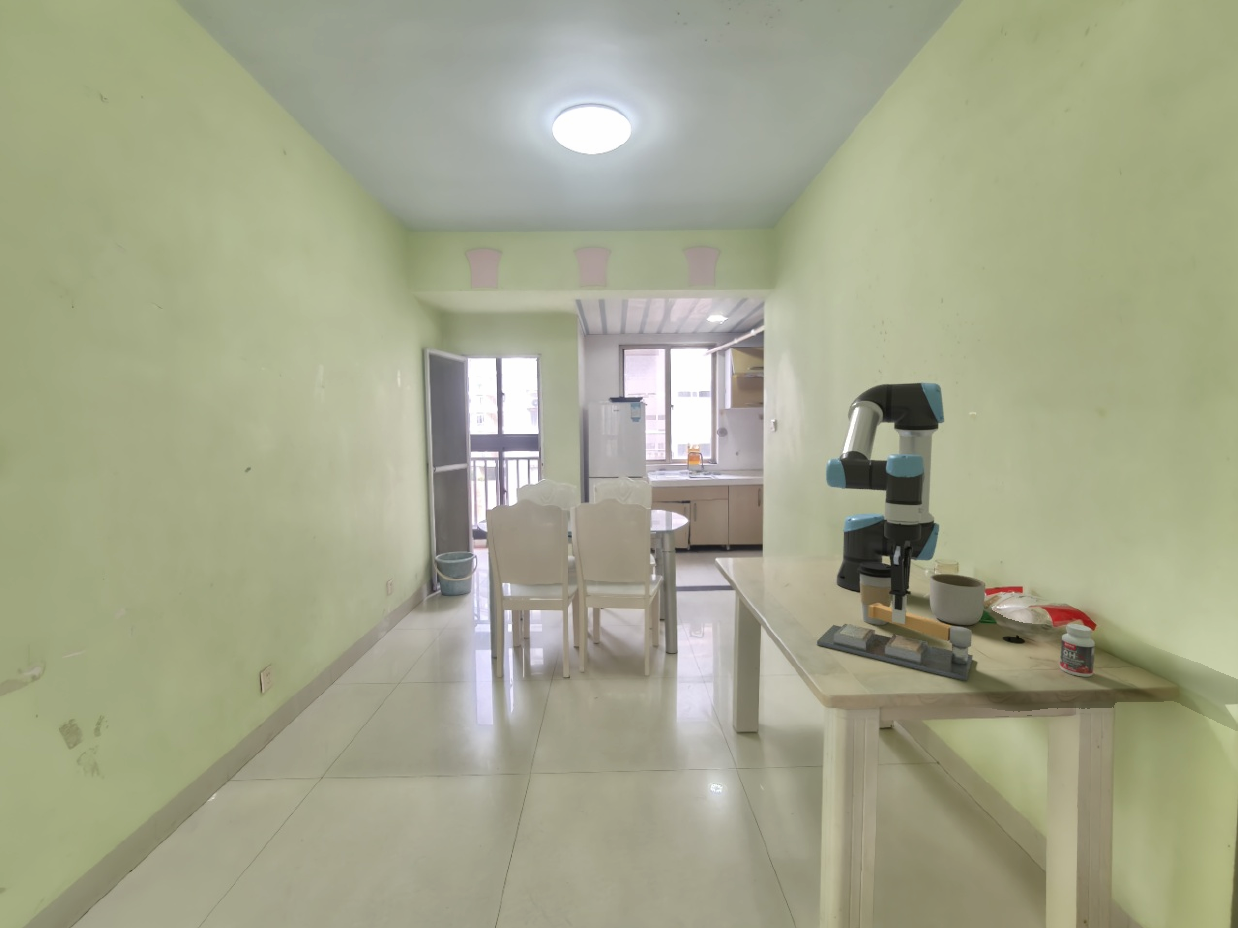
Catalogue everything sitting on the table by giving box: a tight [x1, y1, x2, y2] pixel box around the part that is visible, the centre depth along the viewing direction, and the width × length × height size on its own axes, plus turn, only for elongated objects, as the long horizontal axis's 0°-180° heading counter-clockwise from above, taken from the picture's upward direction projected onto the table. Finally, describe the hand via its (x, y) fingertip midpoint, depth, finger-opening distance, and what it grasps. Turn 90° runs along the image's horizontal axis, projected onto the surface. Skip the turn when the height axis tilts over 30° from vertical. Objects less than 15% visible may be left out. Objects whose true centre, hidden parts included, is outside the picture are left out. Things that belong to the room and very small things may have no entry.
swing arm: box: [868, 603, 973, 648], centre depth 125 cm, size 22×4×3 cm, turn 33°
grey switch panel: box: [816, 623, 974, 682], centre depth 125 cm, size 13×30×5 cm, turn 53°
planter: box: [929, 573, 986, 626], centre depth 146 cm, size 12×12×11 cm
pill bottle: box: [1059, 623, 1096, 678], centre depth 115 cm, size 5×5×10 cm
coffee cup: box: [857, 562, 893, 626], centre depth 145 cm, size 9×9×15 cm
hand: (898, 621), depth 127 cm, fingers closed
